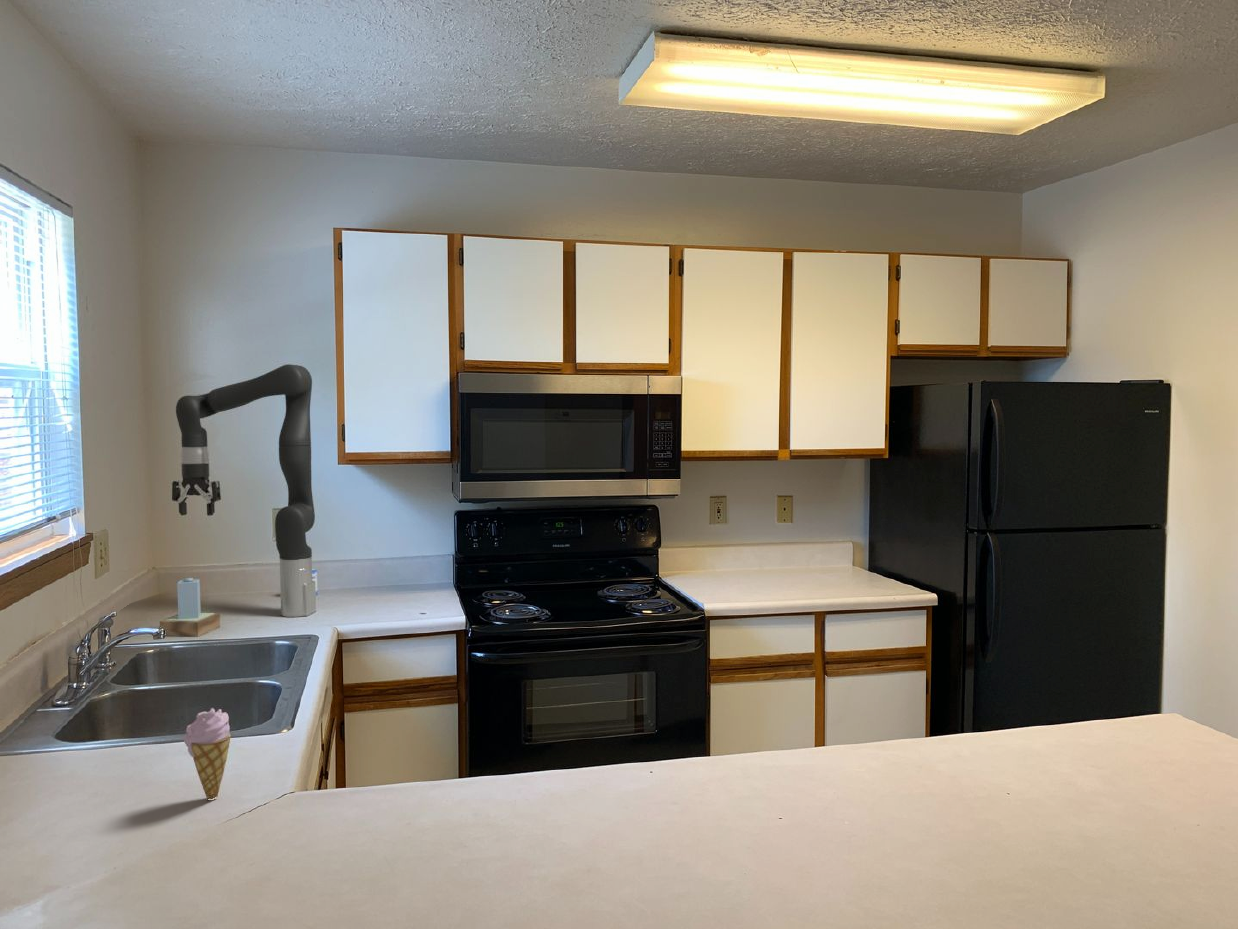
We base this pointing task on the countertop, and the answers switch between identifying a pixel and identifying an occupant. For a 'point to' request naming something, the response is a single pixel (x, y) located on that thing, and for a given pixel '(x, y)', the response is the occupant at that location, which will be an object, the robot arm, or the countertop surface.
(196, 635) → the walnut base block
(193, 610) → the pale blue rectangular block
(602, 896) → the countertop surface
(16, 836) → the countertop surface
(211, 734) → the ice cream cone
